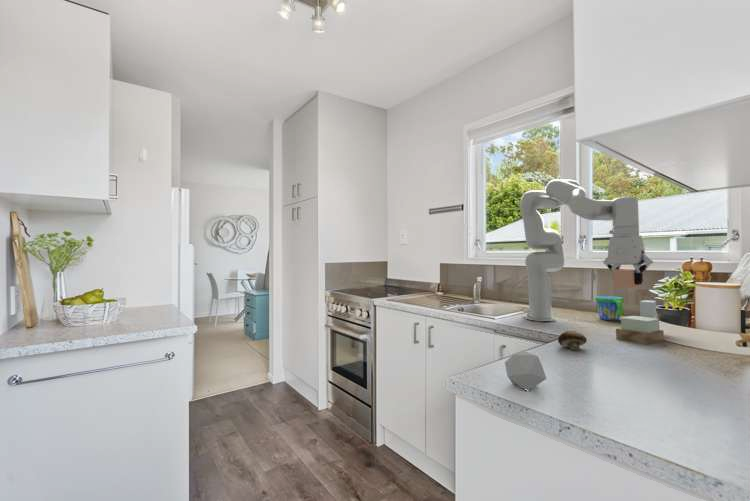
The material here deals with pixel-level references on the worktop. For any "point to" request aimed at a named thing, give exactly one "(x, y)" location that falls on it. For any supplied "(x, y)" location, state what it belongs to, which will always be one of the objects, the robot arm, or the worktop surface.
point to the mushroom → (572, 340)
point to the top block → (640, 324)
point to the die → (525, 370)
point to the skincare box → (648, 309)
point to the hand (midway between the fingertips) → (627, 283)
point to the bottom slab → (640, 336)
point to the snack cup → (609, 307)
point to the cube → (624, 278)
